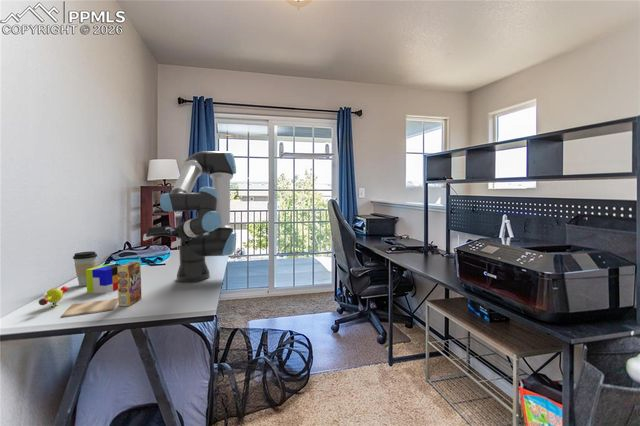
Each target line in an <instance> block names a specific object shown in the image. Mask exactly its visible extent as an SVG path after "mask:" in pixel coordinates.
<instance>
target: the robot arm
mask: <svg viewBox="0 0 640 426" xmlns="http://www.w3.org/2000/svg"><path fill="white" fill-rule="evenodd" d="M236 174H237V165H236V161H235V157H234V154H233V152H232V151H227V150H226V151H225V150H222V151H221V150H220V151H216V150H214V151H212V150H211V151H209V150H208V151H207V150H205V151H204V150H202V151H198V152H196V153H194V154H192V155H190V156H189V157H187V158H186V159H185V160H184V162H183V164H182V166H181V172H180V174H179V176H178V178H177V180H176V181H175V183H174V186H172V189H171V191H170V192H167V193H166V192H165V193H162V194H161V195H160V198H159V204H160V208H161V210H162V211H163V212H194V211H195V212H196V213H197V215H196V217H193V218H191V219H188V220H186V221H184V222H181V223H179V224H178V226H177V227H173V228H172V227H171V226H172V225H165V226H155V227H154V226H153V227H148V229H147V232H146V233H144V234H143V236H142V237H143V239H142V240H143V241H144V242H145V241H147V240H150V239H152V238H154V237H169V238H172V237H173V238H176V239H177V238H178V239H177V240H175V241H172V242H171V243H170V248H171V249H174V248H177V247H178V249H179V251H178V252H179V265H178V269H177V272H176V281H178V282H180V283H181V282H182V283H189V282H190V283H191V282H199V281H203V280H206V279H208V278H210V277H211V275H210V270H209V268H208V266H207V262H206V257H225V256H231V255H233V254H234V253H235V250H236V244H237V232H236V231H234V228H233V227H232V225H231V180H232V179H234V175H236ZM201 175H209V178H210V179H211V180H212V186H202V187H200V188H199V190H198V192H192V191H193V190H194V189H193V188H194V187H195V184H196V183H197V180H198V178H199V177H201Z"/></svg>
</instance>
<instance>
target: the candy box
mask: <svg viewBox="0 0 640 426" xmlns="http://www.w3.org/2000/svg"><path fill="white" fill-rule="evenodd" d="M119 265H120V266H117V267H118V289H117V293H118V294H117V296H118V297H117V298H118V301H117V303H118V307H130V306H132V305H133V304H135V303H137V302H138V301H140V300H142V298H143V297H142V270H141V261H139V260H138V261H137V260H136V261H134V260H133V261H129V262H125V263H124V264H119ZM136 301H137V302H136Z"/></svg>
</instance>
